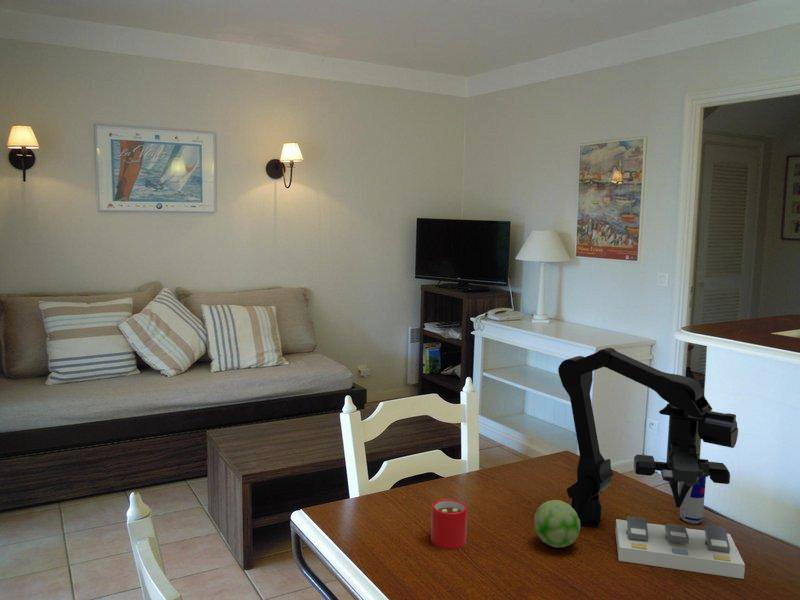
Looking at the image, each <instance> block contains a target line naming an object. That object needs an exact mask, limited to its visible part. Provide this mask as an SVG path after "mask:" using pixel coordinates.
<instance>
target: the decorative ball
mask: <svg viewBox="0 0 800 600" xmlns="http://www.w3.org/2000/svg"><path fill="white" fill-rule="evenodd" d="M533 521H534V522H533V523H534V524H533V525H534V530H535V533H536V534H537V536H538V537H539V539H540V540H541V541H542V542H543V543H545V544H546V545H547V546H550V547H553V548H556V549H559V548H566V547H568V546H571V545H572V544H573V543H574V542H575V541H576V540H577V539H578V537H579V534H580V531H581V525H580V519H579V517H578V515H577V513H576V511H575V510H574V509H573V508H572V507H571V504H569V503H567V502H565V501H563V500H560V499H552V500H547V501H545V502H544V503H542V504H541V505H540V506H539V507H538V508H537V510H536V512H535V513H534V520H533Z"/></svg>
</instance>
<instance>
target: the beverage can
mask: <svg viewBox="0 0 800 600" xmlns="http://www.w3.org/2000/svg"><path fill="white" fill-rule="evenodd" d="M698 479H699V481H700V483H699V484H694V485H693V486H692V487H691V488H690V489H689V491H688V492H687V494H686V496H685V498H684V500H683V503H682V505H681V507H679V516H680V518H681V519H682V521H683V522H684V523H685V522H686V523H688V524H693V525H696V524H697V525H698V524H699V523H700V522H702V521H703V520H704V519H703V518H704V508H705V506H704V505H705V497H706V496H705V494H706V493H705V492H706V481H707V477H704V478H702V477H698Z"/></svg>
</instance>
